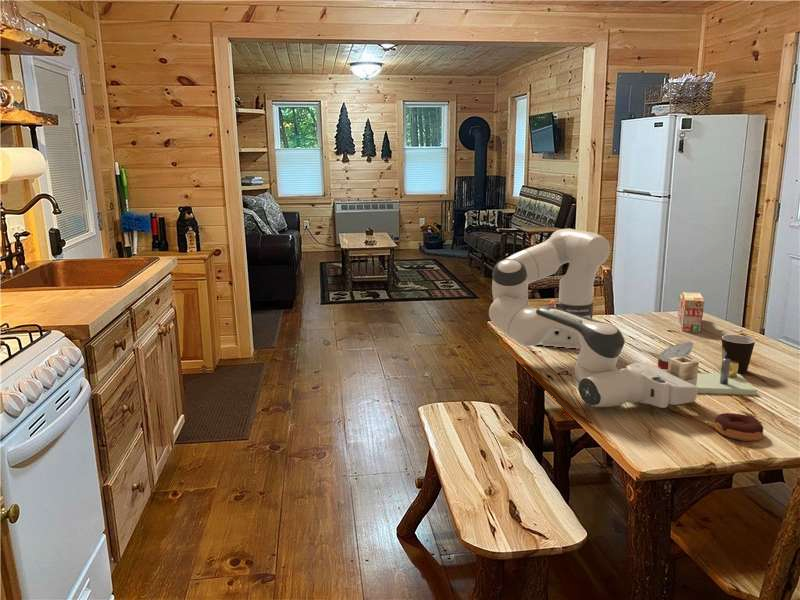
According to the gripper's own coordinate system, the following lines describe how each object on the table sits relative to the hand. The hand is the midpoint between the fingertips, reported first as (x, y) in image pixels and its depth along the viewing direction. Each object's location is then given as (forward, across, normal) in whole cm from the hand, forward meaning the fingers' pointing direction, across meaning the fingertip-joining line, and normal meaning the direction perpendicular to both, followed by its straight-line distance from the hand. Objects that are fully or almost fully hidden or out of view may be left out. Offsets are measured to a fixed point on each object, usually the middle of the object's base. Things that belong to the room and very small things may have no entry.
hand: (684, 377), depth 155 cm
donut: (-2, +20, -6) cm, 21 cm away
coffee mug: (+30, -13, -6) cm, 34 cm away
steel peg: (+16, -2, -5) cm, 16 cm away
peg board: (+13, -6, -6) cm, 15 cm away
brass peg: (+22, -6, -5) cm, 23 cm away
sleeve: (-1, 0, -6) cm, 6 cm away
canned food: (+15, -20, -6) cm, 26 cm away
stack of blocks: (+53, -56, -6) cm, 78 cm away
